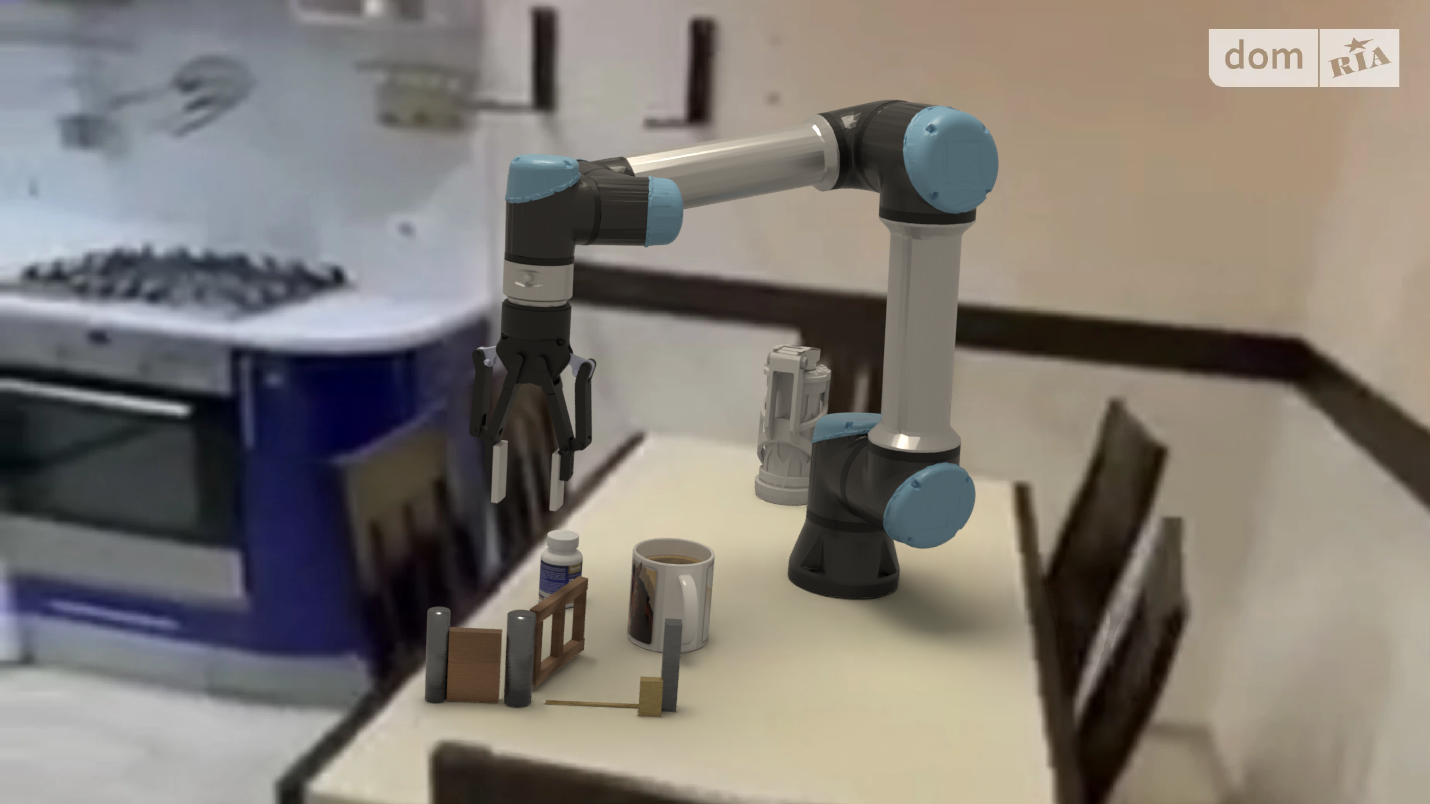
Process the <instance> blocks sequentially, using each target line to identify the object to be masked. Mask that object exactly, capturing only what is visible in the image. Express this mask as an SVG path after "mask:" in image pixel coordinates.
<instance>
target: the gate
mask: <svg viewBox="0 0 1430 804" xmlns="http://www.w3.org/2000/svg"><path fill="white" fill-rule="evenodd" d="M588 588H589V577H584V576H582V577H581V576H578V577H577V578H575V579H574V580H572V581H571V582H569V583H568V584H566V585H565V586H564V587H562V588H561V589H559V590H558V591H556V592H555V593H553V594H552V595H550V596H549V597H547V598H546V599H544V600H543V601H541V602H540V601H539V602H538V603H536V605H534V606H532V607H531V608H529V611H532V612H534V613H535V614H536V623H535V643H534V662H533V682H532V687H535V688H536V687H538V686H539V685H540V684H541V683H543V682H544V681H546V680H547V679H548V678H549V677H550V676H552V675H553V674H554V673H555V672H557V671H558V670H559V669H561V668H562V667H564V666H565V665H566V664H567V663H569V662H570V661H571V660H573V659H574V658H575V657H577V656H578V655H579V654H580V653H582V652H583V651H584V650H585V644H586V643H585V641H586V638H585V630H586V629H585V628H586V611H587V610H586V609H587V593H588V590H589V589H588ZM573 599H574V606H573V607H572V608H573V609H572V611H573V613H572V625H571V626H572V627H571V639H570V640H568V641H567V642H566V643H564V640H565V621H566V609H567V608H566V604H568V603H569V602H571V601H572V600H573ZM549 617H551V632H550V648H549V649H550V651H549V655H548V656H547V657H546V658H544V659H543V660H542V654H543V651H542V650H543V631H544V621H545V620H546V619H548V618H549Z"/></svg>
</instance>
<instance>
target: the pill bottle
mask: <svg viewBox="0 0 1430 804" xmlns="http://www.w3.org/2000/svg"><path fill="white" fill-rule="evenodd" d="M579 544H580V535H579V534H578V533H577V532H576V531H573V530H569V529H568V530H567V529H555V530H551V531H549V532H547V536H546V546H547V547H546V548H545V549H543V550H542V552H541V554H540V564H539V565H540V566H539V581H538V583H539V584H538V601H539V603H540V602H541V601H543V600H544V599H546V598H547V597H549V596H550V595H552V594H553V593H555V592H556V591H558V590H559V589H561V588H562V587H564V586H565V585H566V584H568V583H569V582H571V581H572V580H574V579H575V578H577V577H578V576H581V577H583V576H582V574H583V562H584V561H583V560H584V557H583V554H582V551H580V550H579V549H578V548H579ZM573 607H574V599H573V600H572V601H571V602H569V603H568V604H566V608H565V609H567V608H573Z"/></svg>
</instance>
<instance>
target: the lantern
mask: <svg viewBox="0 0 1430 804" xmlns="http://www.w3.org/2000/svg"><path fill="white" fill-rule="evenodd" d="M771 349H772V350H771V351H769V352H768V353H767V355H766V362H765V363H764V367H763V374H764V375H765V376H767V377H766V388H767V389H766V390H767V391H766V395H765V396H764V397H763V399H762V401H761V404H760V412H759V424H758V436H757V437H758V438H757V445H756V446H757V449H756V455H757V457H758V460H759V461H760V463H761V464H762V465H760V466H759V467H758V474H756V476H755V477H754V490H755V495H756V496H757V497H758V498H759V499H761V500H762V501H764V502H768V503H772V504H775V505H776V504H777V505H783V506H804V505H806V506H807V499H808V487H809V476H810V465H811V453H812V445H811V441H812V438H813V433H814V428H815V424H816V422H817V420H818V419H819V418H821V417H822V416H825V415H828V409H829V395H830V386H831V385H830V384H831V376H832V370H831V369H830V368H828V367H827V366H826V365H824V364H821V363H820V364H819V361H820V359H821V358H820V357H821V348H817V347H810V346H802V345H795V344H789V343H788V344H787V343H785V344H782V343H780V344H776V345H775V346H772V347H771ZM821 403H822V406H823V408H822V410H821V411H820V409H821ZM763 429H764V430H763ZM763 431H764V432H763Z"/></svg>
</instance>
